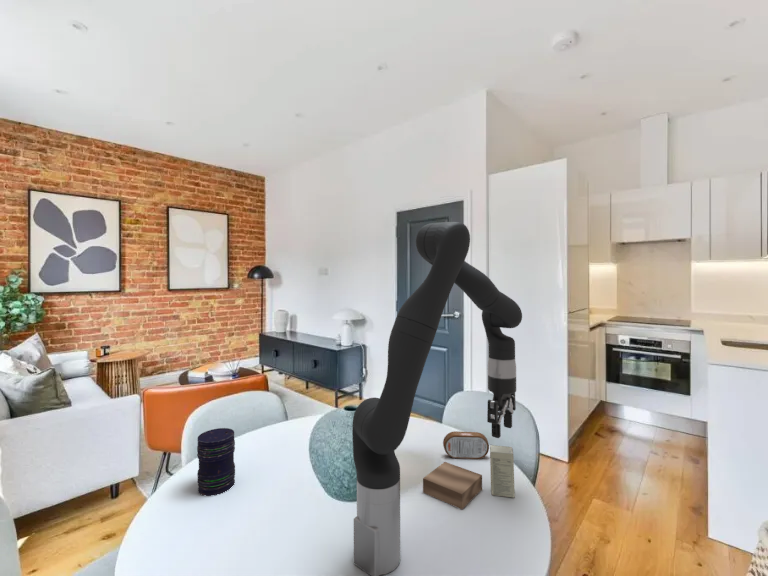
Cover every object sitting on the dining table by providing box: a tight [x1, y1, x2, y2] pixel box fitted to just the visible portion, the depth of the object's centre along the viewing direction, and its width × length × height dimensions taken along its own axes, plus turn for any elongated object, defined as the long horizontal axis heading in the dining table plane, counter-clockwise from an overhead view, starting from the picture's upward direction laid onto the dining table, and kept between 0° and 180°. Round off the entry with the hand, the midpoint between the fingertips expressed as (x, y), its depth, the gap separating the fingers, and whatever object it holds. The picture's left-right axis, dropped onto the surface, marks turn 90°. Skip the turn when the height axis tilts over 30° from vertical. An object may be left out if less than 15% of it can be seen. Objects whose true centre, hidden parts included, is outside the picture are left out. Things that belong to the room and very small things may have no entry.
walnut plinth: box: [422, 461, 483, 510], centre depth 101 cm, size 12×12×4 cm
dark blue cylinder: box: [196, 427, 236, 497], centre depth 103 cm, size 10×10×15 cm
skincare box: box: [489, 444, 516, 498], centre depth 100 cm, size 6×4×12 cm
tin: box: [442, 430, 490, 460], centre depth 120 cm, size 15×3×8 cm, turn 86°
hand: (502, 432), depth 100 cm, fingers open, 8 cm apart
